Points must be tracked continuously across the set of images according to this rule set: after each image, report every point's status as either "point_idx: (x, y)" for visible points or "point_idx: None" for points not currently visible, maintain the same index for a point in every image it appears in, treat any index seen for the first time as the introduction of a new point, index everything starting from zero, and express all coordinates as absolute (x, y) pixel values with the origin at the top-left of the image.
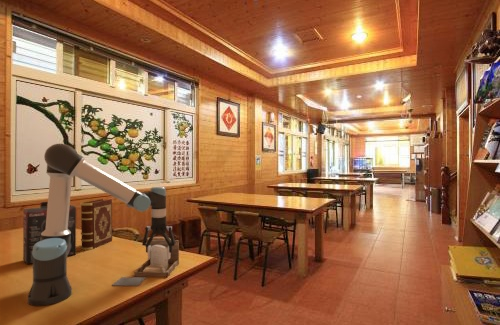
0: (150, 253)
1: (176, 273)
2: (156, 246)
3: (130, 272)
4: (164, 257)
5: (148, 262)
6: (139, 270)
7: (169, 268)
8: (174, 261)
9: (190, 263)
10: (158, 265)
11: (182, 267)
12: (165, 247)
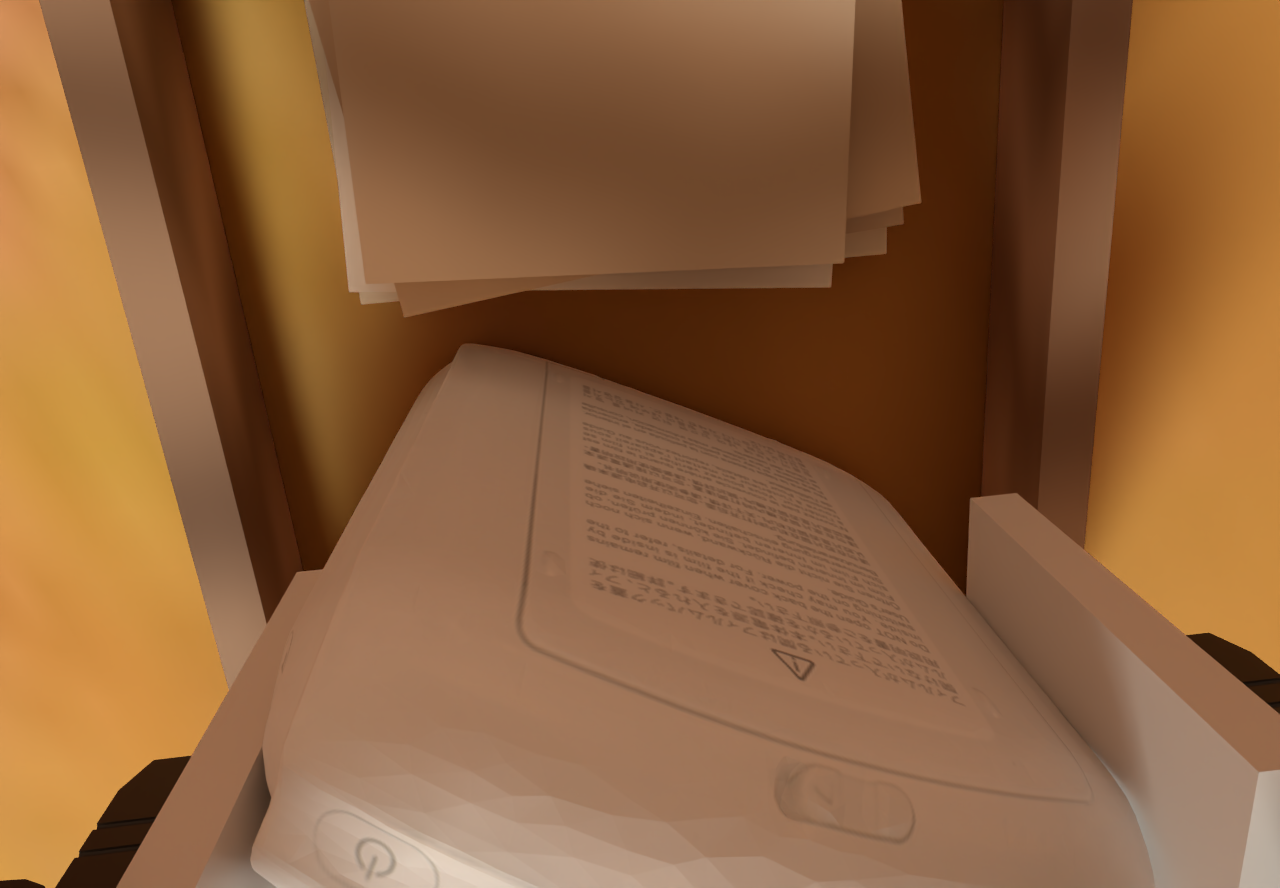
0: (1034, 681)
1: (13, 220)
2: (856, 868)
3: (1262, 144)
4: (373, 499)
5: None
6: (1043, 71)
7: (146, 207)
8: None
9: (51, 863)
10: (537, 265)
11: (98, 621)
12: (298, 864)
